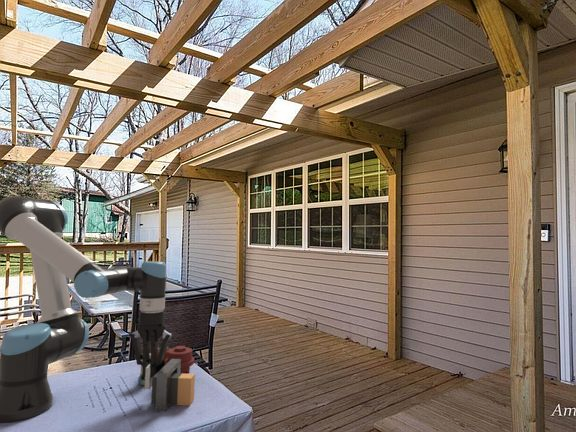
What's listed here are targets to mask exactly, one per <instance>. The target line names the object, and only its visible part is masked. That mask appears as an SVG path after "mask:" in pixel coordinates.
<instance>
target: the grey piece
mask: <svg viewBox="0 0 576 432" xmlns="http://www.w3.org/2000/svg"><path fill="white" fill-rule="evenodd" d="M180 372H181V359H171V360H170V361H169V362H168V363H167V364H166V365H165V366H164V367H163V368H162V369H161V370H160V371H158V372H157V385H156V404H155V408H154V409H155V412H163V413H165V412H167V411H168V409H169V408H170V406H171V405H170V385H171V374H172V373H180Z"/></svg>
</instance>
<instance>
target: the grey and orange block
mask: <svg viewBox="0 0 576 432" xmlns="http://www.w3.org/2000/svg"><path fill="white" fill-rule="evenodd" d="M195 378H196V374H195V373H189V374H184V373H172V374H171V385H170V406H191V405H192V404H193V402H194V400H195V381H196V379H195ZM156 385H157V374H156V375H155V376H153V377H152V387H151V402H150V403H151V404H150V405H156Z"/></svg>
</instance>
